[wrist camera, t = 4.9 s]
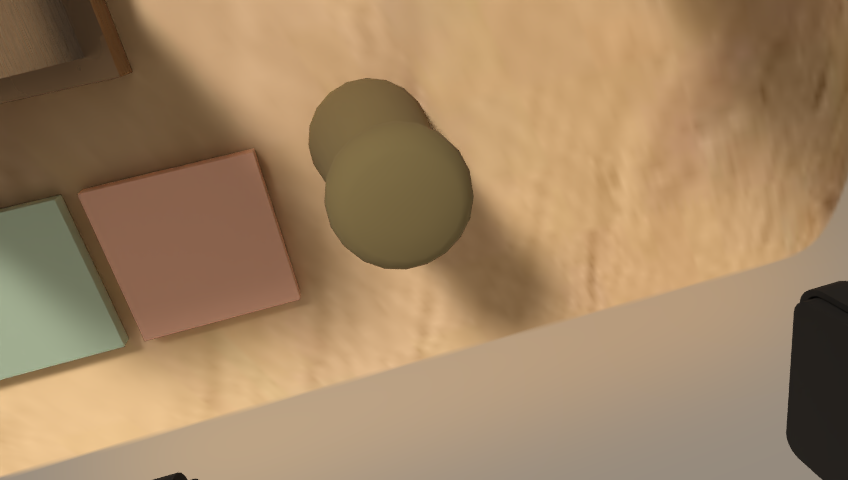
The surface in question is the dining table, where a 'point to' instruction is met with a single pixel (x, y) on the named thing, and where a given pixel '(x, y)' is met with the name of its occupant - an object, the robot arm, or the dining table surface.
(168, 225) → the terracotta pad
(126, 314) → the dining table surface
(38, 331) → the green pad
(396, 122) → the brown pepper mill
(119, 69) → the grey unit
